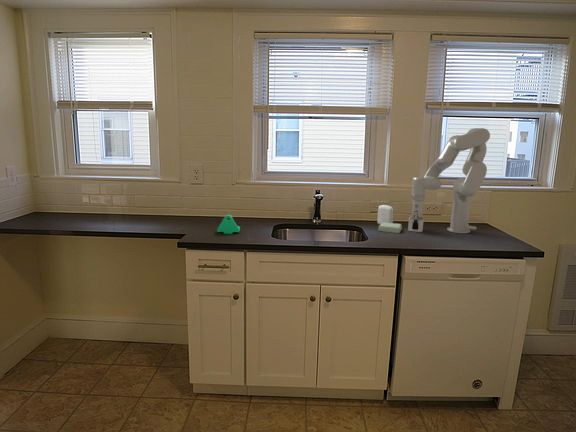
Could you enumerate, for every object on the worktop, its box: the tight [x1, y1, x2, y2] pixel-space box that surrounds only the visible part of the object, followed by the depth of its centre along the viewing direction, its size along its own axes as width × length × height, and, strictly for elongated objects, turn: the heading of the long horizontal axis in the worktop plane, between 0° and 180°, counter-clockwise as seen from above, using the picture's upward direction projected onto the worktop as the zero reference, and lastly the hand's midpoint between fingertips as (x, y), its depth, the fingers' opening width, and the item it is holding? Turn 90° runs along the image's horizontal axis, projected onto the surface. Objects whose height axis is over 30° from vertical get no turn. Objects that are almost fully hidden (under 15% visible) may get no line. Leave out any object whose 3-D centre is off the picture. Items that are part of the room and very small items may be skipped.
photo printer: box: [377, 204, 394, 225], centre depth 255 cm, size 10×4×12 cm, turn 39°
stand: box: [378, 222, 403, 234], centre depth 241 cm, size 12×12×3 cm
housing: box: [407, 215, 424, 233], centre depth 240 cm, size 8×5×8 cm, turn 69°
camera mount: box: [216, 214, 241, 235], centre depth 229 cm, size 12×8×10 cm, turn 91°
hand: (415, 228), depth 241 cm, fingers closed on housing, 5 cm apart
